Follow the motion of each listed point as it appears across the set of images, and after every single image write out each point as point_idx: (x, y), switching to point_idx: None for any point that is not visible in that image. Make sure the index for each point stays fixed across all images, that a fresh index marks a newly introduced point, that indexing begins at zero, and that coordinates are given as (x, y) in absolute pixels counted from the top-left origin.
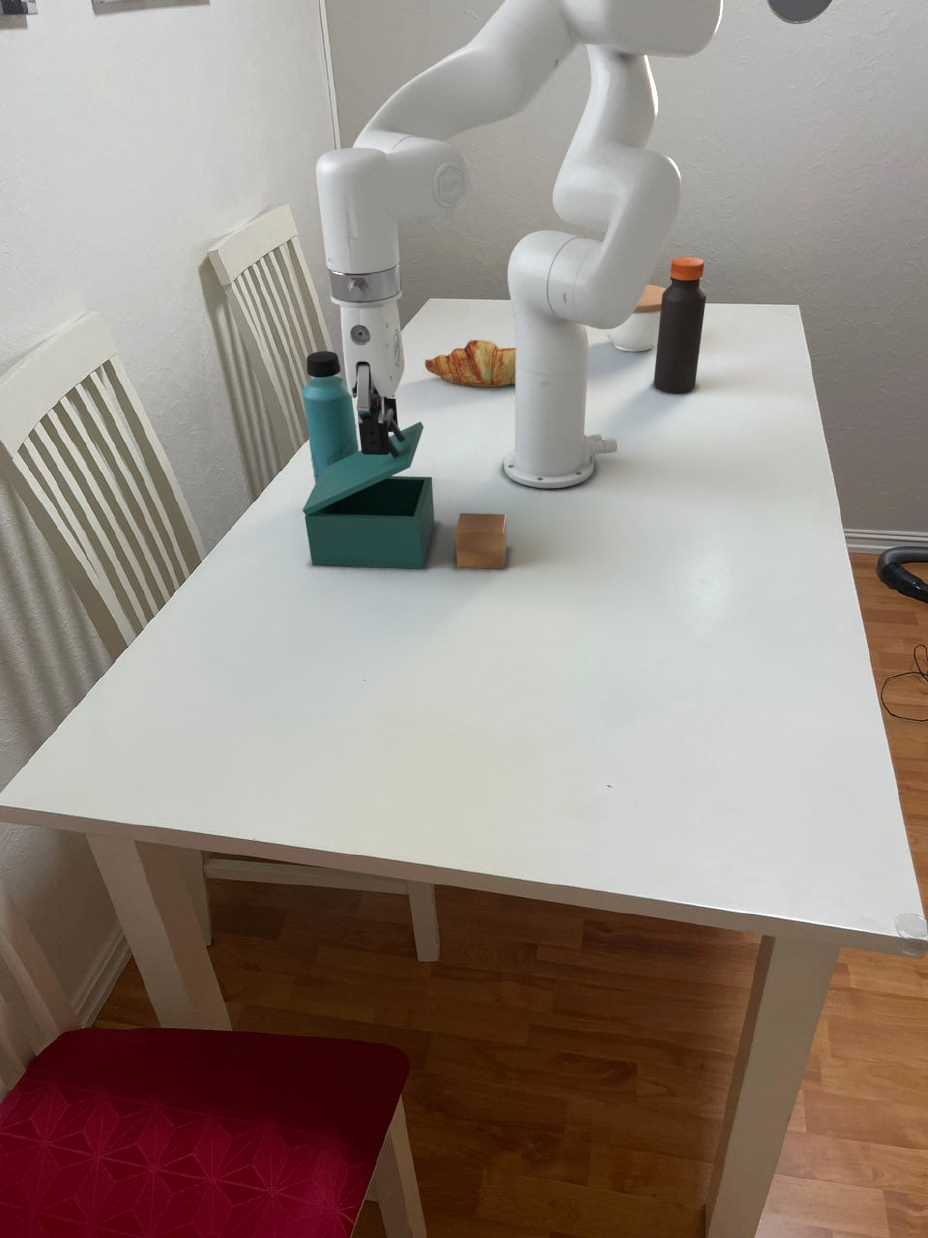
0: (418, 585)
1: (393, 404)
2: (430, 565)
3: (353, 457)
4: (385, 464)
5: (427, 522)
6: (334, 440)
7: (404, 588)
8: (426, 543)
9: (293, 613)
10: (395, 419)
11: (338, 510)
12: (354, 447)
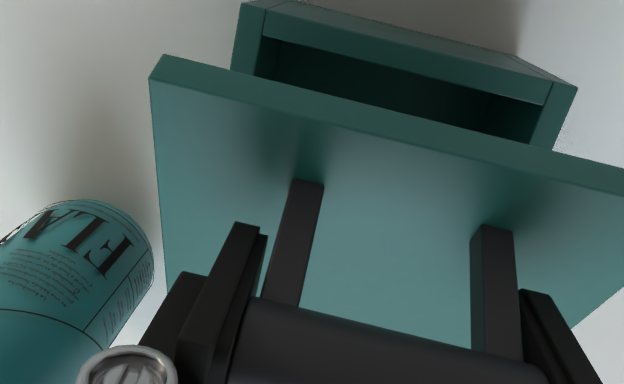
0: (595, 76)
1: (232, 339)
2: (503, 31)
3: None
4: (519, 279)
5: (400, 33)
6: (64, 372)
7: (596, 115)
8: (436, 38)
9: (605, 357)
10: (251, 267)
11: None
12: (47, 283)
